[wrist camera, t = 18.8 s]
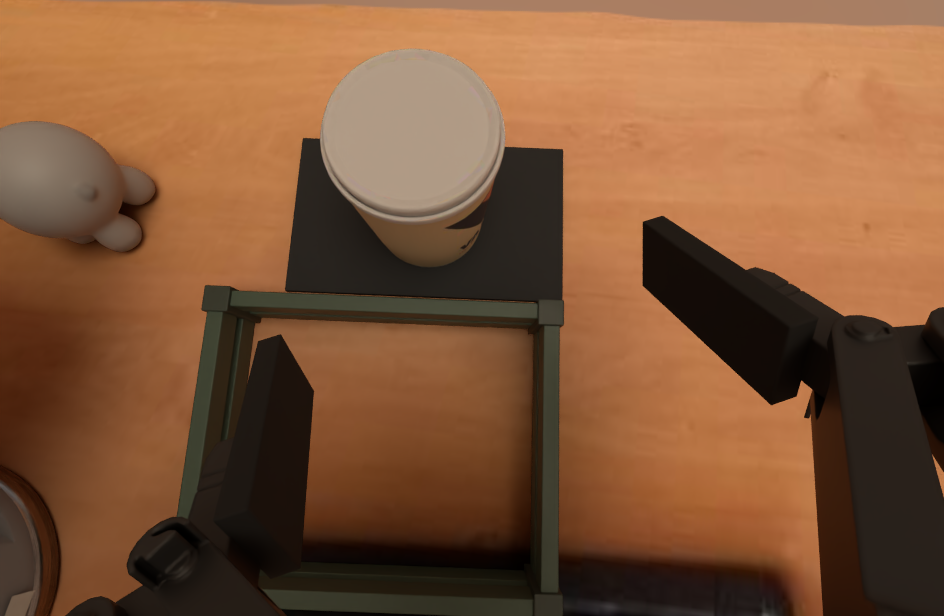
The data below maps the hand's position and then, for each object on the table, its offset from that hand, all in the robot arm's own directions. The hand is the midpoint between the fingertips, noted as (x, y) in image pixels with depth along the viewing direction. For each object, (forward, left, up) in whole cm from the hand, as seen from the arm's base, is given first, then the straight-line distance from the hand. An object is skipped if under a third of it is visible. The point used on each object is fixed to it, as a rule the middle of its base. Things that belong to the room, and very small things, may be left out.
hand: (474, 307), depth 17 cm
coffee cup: (-3, +10, -17) cm, 20 cm away
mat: (-3, +10, -17) cm, 20 cm away
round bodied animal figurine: (-29, +10, -17) cm, 35 cm away
